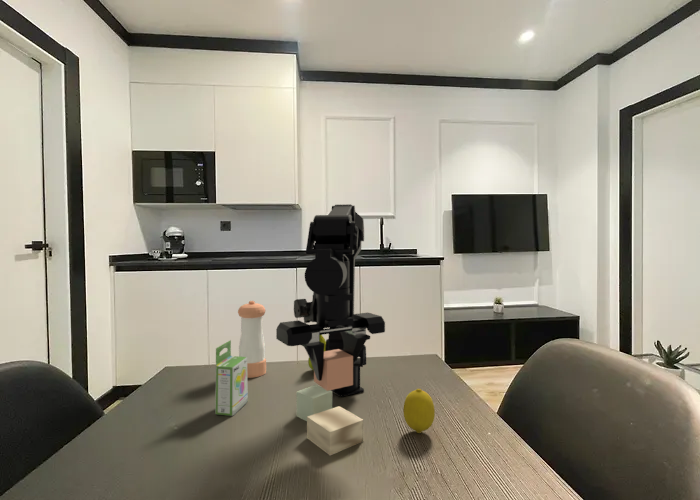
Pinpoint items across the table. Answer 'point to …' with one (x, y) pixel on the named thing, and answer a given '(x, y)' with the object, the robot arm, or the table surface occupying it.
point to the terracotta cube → (336, 370)
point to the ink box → (230, 381)
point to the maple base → (334, 430)
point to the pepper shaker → (252, 338)
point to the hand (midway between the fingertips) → (333, 377)
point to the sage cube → (313, 401)
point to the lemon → (419, 410)
